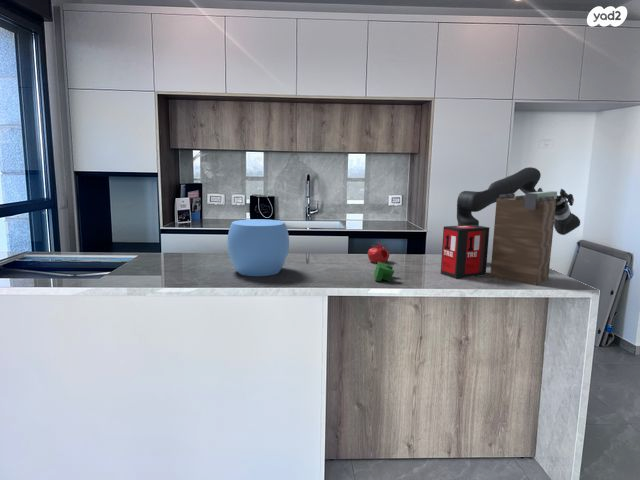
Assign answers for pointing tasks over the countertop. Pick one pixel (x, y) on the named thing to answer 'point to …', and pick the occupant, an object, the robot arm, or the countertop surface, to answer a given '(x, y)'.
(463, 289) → the countertop surface
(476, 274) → the cleaning product box
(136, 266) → the countertop surface
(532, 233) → the wooden box
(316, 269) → the countertop surface
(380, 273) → the green blocky piece
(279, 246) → the planter
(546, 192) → the grey-green flat block
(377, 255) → the pomegranate
